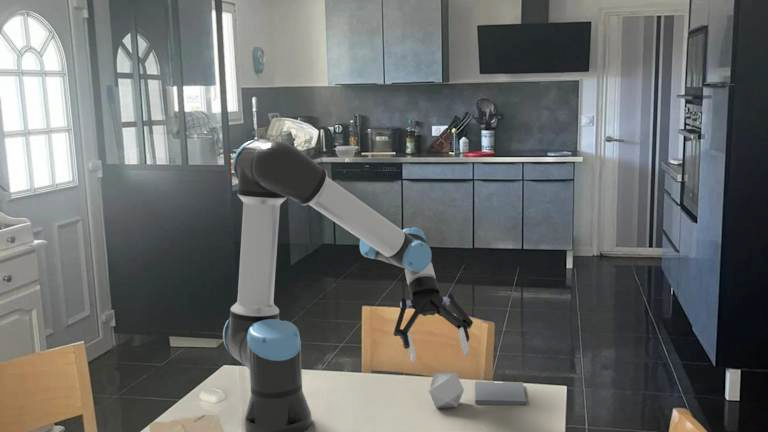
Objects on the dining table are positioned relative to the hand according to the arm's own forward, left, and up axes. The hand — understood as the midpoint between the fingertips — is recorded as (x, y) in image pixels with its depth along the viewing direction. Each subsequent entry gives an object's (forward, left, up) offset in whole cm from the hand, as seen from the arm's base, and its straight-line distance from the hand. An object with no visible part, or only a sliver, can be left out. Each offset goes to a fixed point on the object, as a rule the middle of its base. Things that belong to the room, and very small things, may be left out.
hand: (440, 356), depth 191 cm
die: (+1, -5, -11) cm, 12 cm away
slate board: (+14, +2, -10) cm, 18 cm away
